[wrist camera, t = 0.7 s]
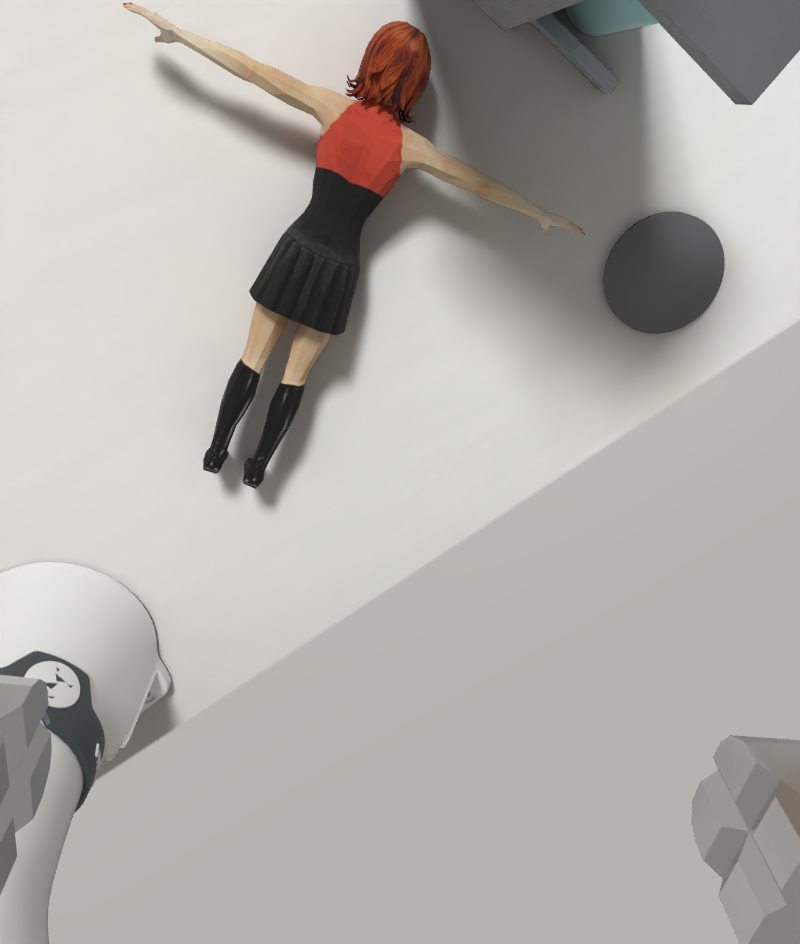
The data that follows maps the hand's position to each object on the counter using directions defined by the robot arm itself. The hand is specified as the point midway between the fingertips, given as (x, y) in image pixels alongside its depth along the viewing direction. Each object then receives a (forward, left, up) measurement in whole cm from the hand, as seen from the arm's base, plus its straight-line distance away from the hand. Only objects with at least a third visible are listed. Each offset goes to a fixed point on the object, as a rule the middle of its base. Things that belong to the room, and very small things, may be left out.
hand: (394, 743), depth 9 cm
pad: (+10, -19, -44) cm, 49 cm away
